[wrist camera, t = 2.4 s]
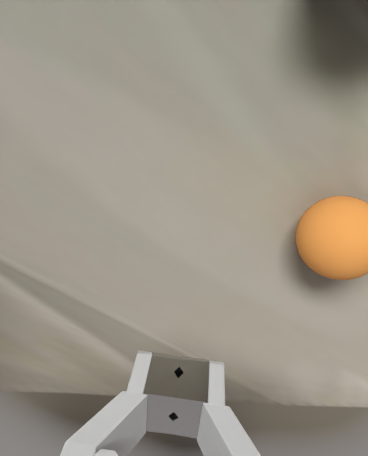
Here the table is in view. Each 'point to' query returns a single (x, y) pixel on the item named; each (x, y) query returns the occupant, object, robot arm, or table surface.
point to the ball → (335, 237)
